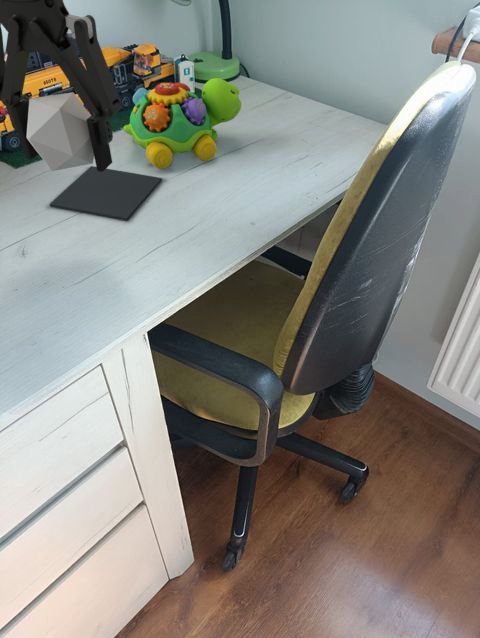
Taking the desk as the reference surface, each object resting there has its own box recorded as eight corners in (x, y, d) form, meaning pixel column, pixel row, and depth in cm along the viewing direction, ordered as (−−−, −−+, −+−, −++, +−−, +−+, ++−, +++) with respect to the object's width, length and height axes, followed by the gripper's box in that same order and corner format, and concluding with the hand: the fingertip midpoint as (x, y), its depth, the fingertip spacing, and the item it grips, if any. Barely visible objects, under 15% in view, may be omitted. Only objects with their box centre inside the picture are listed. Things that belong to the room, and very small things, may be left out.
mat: (50, 206, 85) (49, 203, 85) (91, 168, 94) (91, 165, 94) (127, 221, 83) (126, 218, 82) (162, 180, 92) (162, 177, 92)
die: (99, 147, 73) (41, 85, 67) (126, 134, 66) (63, 64, 60) (61, 190, 70) (-3, 129, 65) (84, 181, 63) (15, 113, 58)
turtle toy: (257, 154, 100) (258, 90, 92) (140, 176, 93) (130, 109, 84) (223, 121, 111) (222, 61, 102) (117, 138, 103) (105, 75, 95)
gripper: (-105, -55, 51) (-22, 160, 67) (97, -35, 47) (134, 187, 64) (-54, -66, 56) (12, 136, 72) (133, -49, 52) (159, 160, 69)
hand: (69, 160), depth 68 cm, fingers closed on die, 10 cm apart
